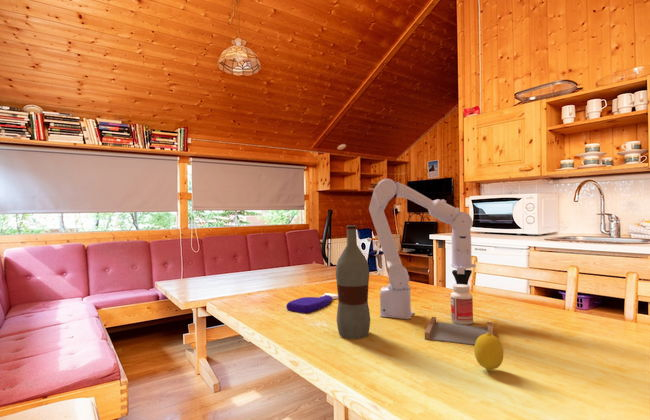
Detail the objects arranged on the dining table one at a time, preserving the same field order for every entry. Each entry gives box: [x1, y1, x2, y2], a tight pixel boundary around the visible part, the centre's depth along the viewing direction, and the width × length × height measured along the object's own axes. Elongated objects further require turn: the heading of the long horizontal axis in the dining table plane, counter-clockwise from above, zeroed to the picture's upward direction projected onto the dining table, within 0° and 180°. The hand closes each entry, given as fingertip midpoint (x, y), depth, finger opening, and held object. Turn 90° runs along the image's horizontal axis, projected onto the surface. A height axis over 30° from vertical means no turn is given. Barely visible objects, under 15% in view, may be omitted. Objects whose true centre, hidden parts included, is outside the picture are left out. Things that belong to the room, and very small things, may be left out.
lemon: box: [473, 333, 504, 372], centre depth 76 cm, size 6×6×8 cm
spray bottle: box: [285, 292, 338, 314], centre depth 134 cm, size 3×11×24 cm
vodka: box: [335, 224, 371, 340], centre depth 101 cm, size 9×9×30 cm
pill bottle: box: [450, 284, 474, 325], centre depth 109 cm, size 6×6×11 cm
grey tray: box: [424, 316, 494, 346], centre depth 99 cm, size 16×15×2 cm
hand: (462, 293), depth 114 cm, fingers closed
